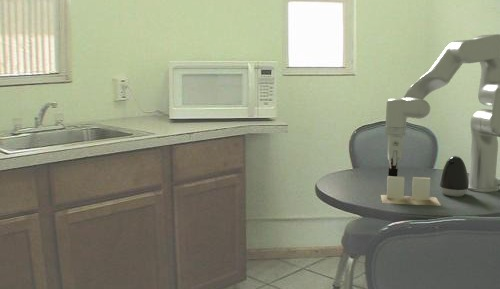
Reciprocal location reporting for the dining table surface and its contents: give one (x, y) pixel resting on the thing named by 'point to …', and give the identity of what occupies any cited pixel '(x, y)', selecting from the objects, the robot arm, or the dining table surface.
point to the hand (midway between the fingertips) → (392, 178)
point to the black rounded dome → (454, 177)
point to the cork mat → (410, 201)
